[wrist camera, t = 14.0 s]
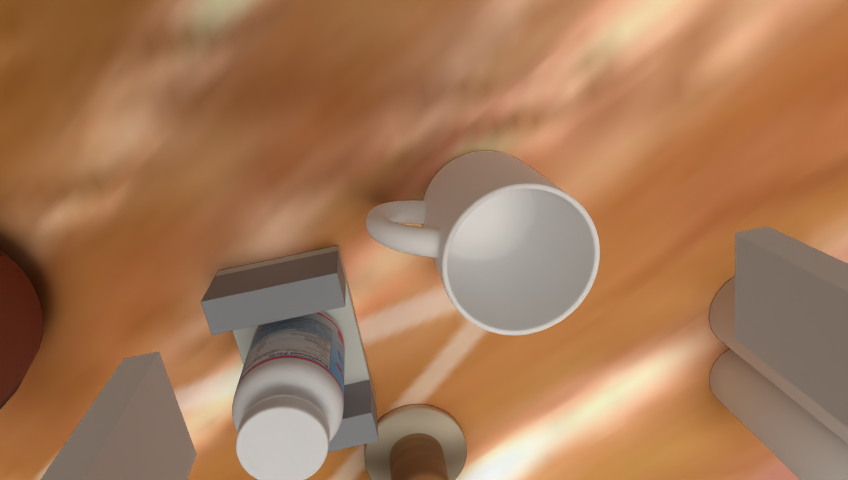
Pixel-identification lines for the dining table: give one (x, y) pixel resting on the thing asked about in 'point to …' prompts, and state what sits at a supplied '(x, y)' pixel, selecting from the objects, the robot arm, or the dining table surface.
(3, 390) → the potted plant
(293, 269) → the notch board
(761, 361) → the vase
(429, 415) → the wooden thread spool
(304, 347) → the pill bottle
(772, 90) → the dining table surface
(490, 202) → the mug
